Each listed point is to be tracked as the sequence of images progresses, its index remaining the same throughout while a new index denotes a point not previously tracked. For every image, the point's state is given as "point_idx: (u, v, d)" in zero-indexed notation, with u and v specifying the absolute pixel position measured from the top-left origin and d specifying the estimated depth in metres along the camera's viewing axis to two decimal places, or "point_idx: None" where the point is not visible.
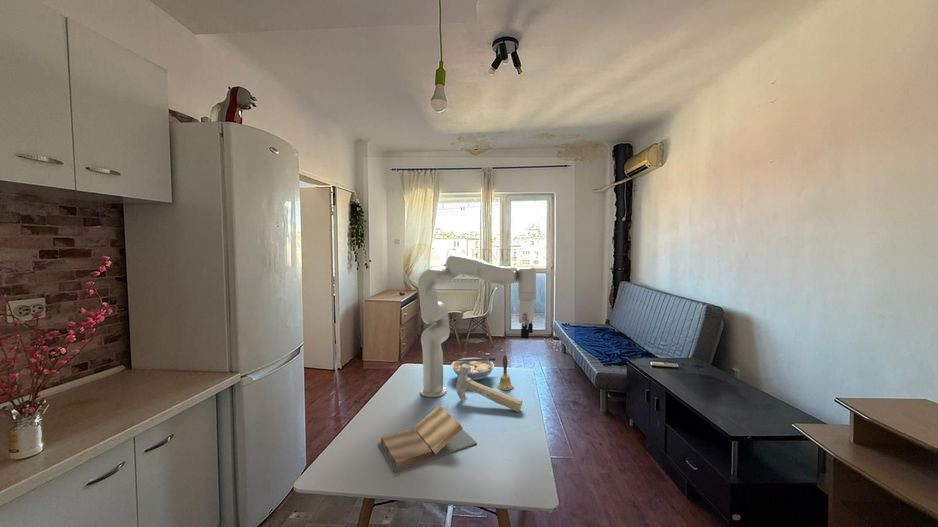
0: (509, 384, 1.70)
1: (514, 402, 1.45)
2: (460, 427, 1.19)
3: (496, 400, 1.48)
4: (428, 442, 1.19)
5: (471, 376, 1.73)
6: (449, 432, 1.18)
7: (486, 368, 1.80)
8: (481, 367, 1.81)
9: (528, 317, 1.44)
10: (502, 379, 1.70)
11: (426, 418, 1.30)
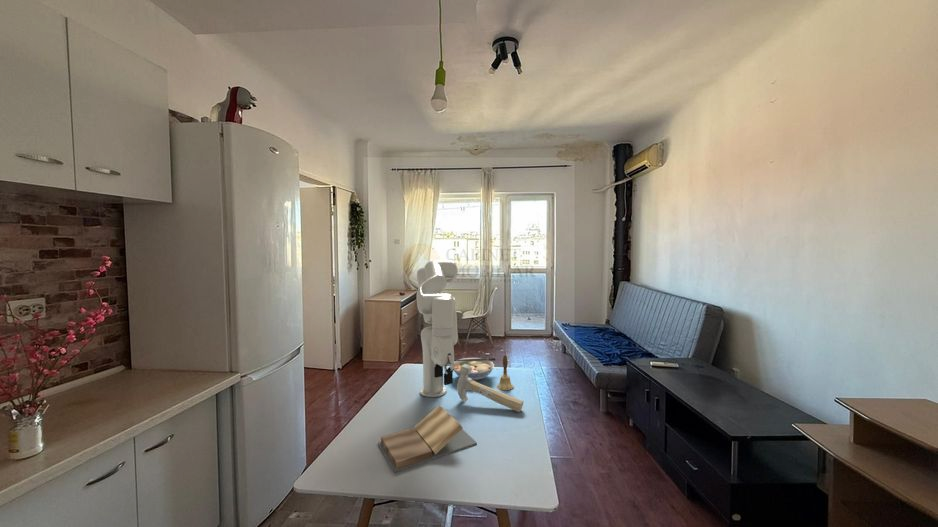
0: (509, 384, 1.70)
1: (515, 402, 1.45)
2: (460, 427, 1.19)
3: (497, 400, 1.48)
4: (428, 442, 1.19)
5: (471, 376, 1.73)
6: (449, 432, 1.18)
7: (486, 368, 1.80)
8: (481, 367, 1.81)
9: (453, 357, 1.21)
10: (502, 379, 1.70)
11: (426, 418, 1.30)
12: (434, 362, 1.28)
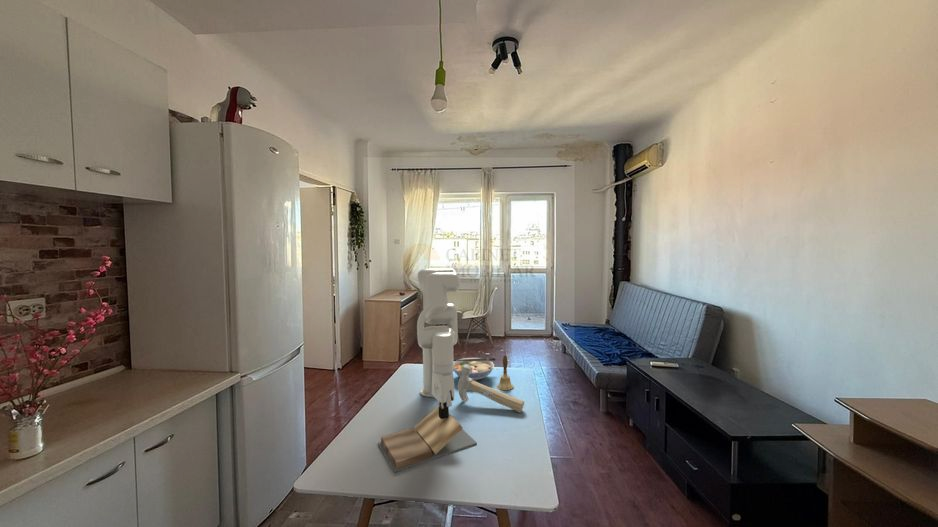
0: (509, 384, 1.70)
1: (516, 402, 1.45)
2: (460, 427, 1.19)
3: (498, 400, 1.48)
4: (428, 442, 1.19)
5: (471, 376, 1.73)
6: (449, 432, 1.18)
7: (486, 368, 1.80)
8: (481, 367, 1.81)
9: (453, 393, 1.21)
10: (502, 379, 1.70)
11: (426, 418, 1.30)
12: (438, 402, 1.26)
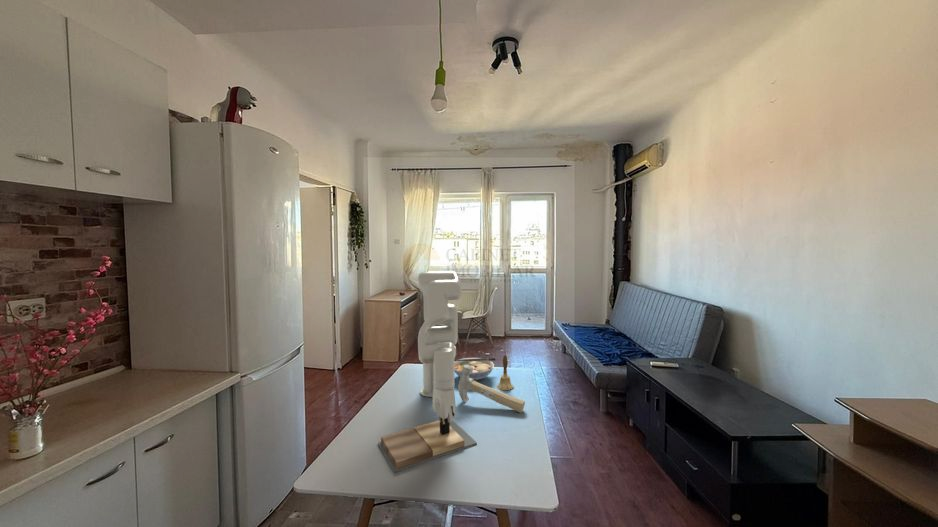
0: (509, 384, 1.70)
1: (517, 402, 1.45)
2: (463, 443, 1.20)
3: (499, 401, 1.48)
4: (428, 443, 1.19)
5: (471, 376, 1.73)
6: (452, 442, 1.19)
7: (486, 368, 1.80)
8: (481, 367, 1.81)
9: (454, 409, 1.21)
10: (502, 379, 1.70)
11: (428, 425, 1.31)
12: (439, 417, 1.26)
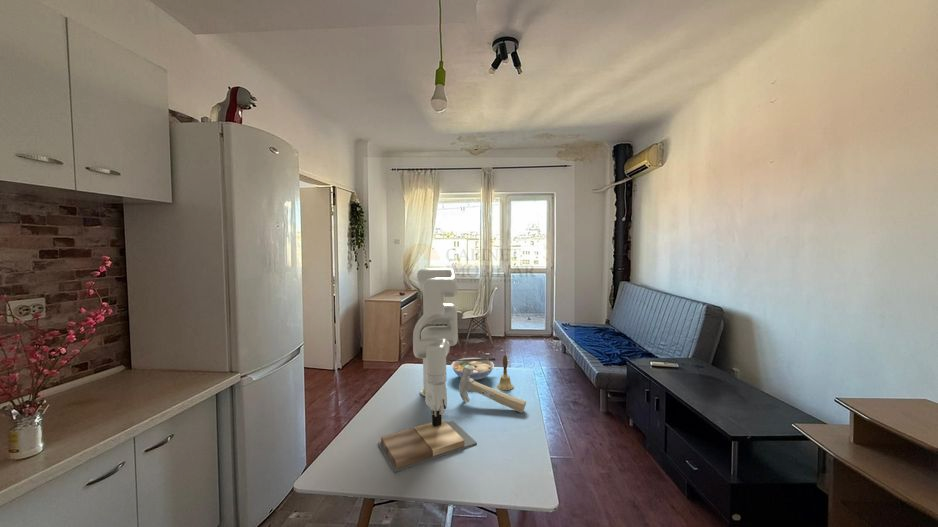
0: (509, 384, 1.70)
1: (518, 403, 1.45)
2: (463, 443, 1.20)
3: (499, 401, 1.48)
4: (428, 443, 1.19)
5: (471, 376, 1.73)
6: (452, 442, 1.19)
7: (486, 368, 1.80)
8: (481, 367, 1.81)
9: (445, 402, 1.27)
10: (502, 379, 1.70)
11: (428, 425, 1.31)
12: (431, 410, 1.31)
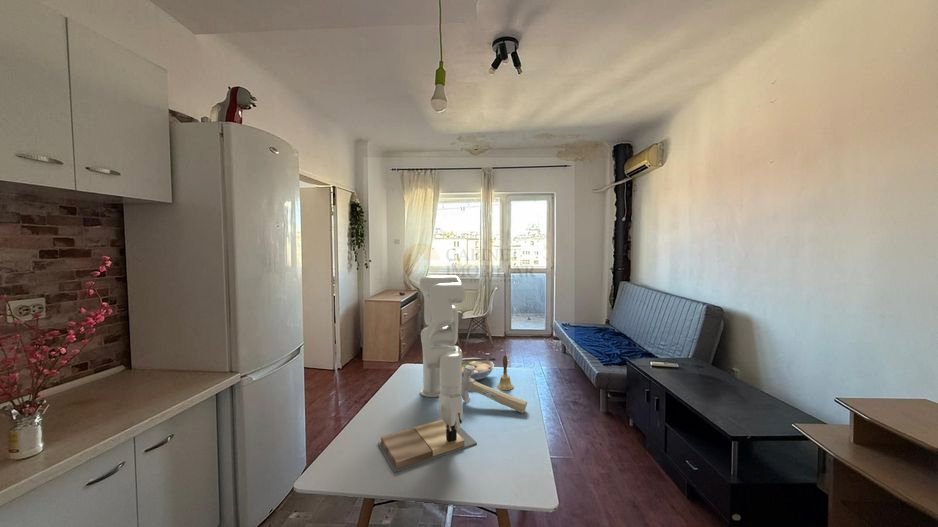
0: (509, 384, 1.70)
1: (519, 403, 1.44)
2: (463, 443, 1.20)
3: (501, 401, 1.47)
4: (428, 443, 1.19)
5: (471, 376, 1.73)
6: (452, 442, 1.19)
7: (486, 368, 1.80)
8: (481, 367, 1.81)
9: (461, 416, 1.16)
10: (502, 379, 1.70)
11: (428, 425, 1.31)
12: None
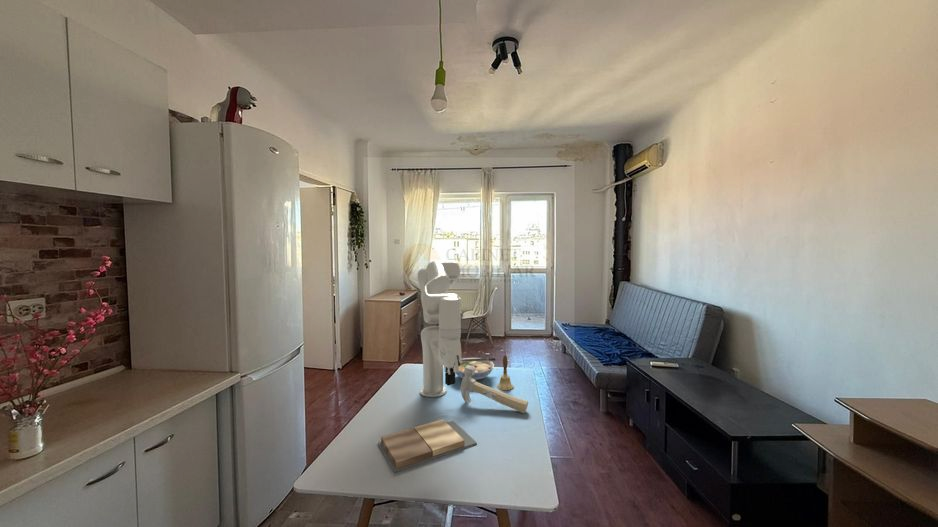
0: (509, 384, 1.70)
1: (520, 403, 1.44)
2: (463, 443, 1.20)
3: (502, 401, 1.47)
4: (428, 443, 1.19)
5: (471, 376, 1.73)
6: (452, 442, 1.19)
7: (486, 368, 1.80)
8: (481, 367, 1.81)
9: (460, 359, 1.18)
10: (502, 379, 1.70)
11: (428, 425, 1.31)
12: (444, 368, 1.23)
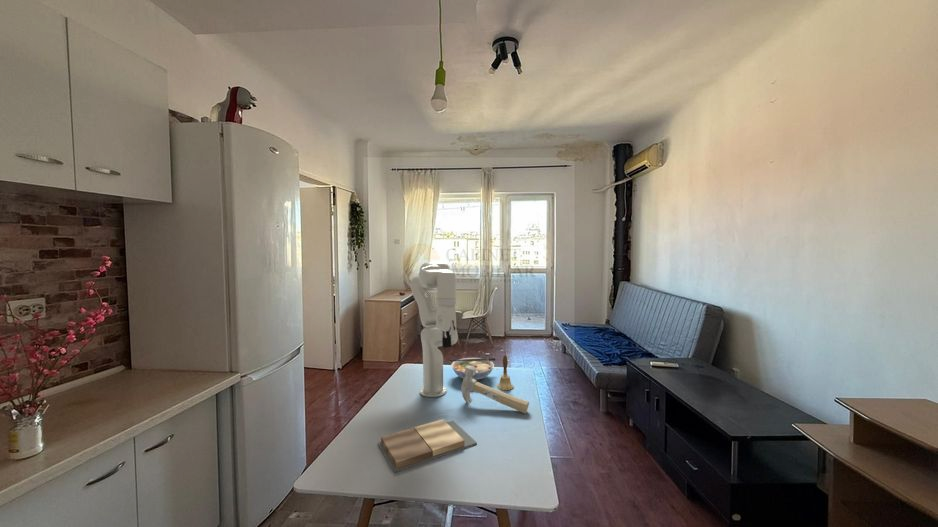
0: (509, 384, 1.70)
1: (521, 403, 1.44)
2: (463, 443, 1.20)
3: (503, 402, 1.47)
4: (428, 443, 1.19)
5: None
6: (452, 442, 1.19)
7: (486, 368, 1.80)
8: (481, 367, 1.81)
9: (455, 324, 1.37)
10: (502, 379, 1.70)
11: (428, 425, 1.31)
12: (441, 333, 1.41)
